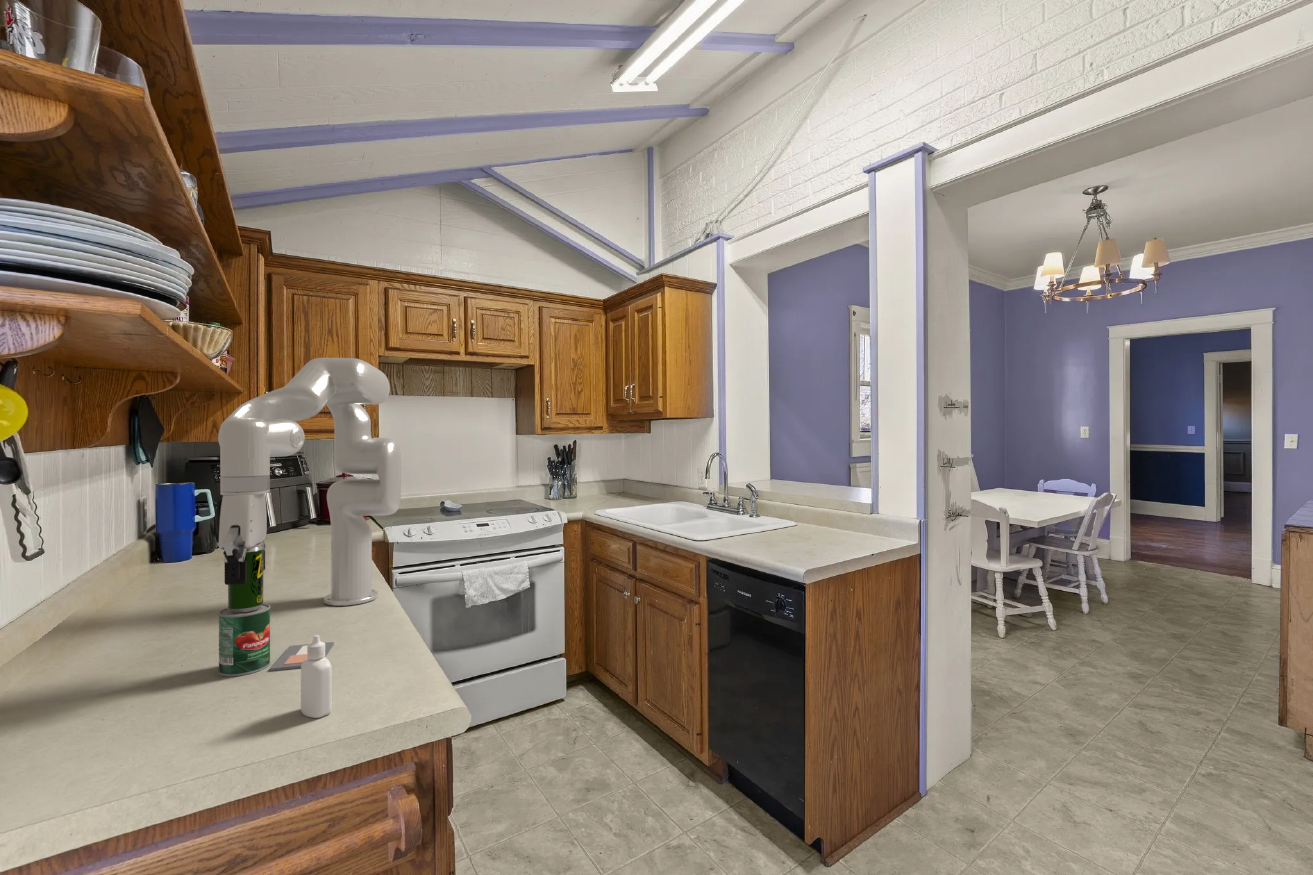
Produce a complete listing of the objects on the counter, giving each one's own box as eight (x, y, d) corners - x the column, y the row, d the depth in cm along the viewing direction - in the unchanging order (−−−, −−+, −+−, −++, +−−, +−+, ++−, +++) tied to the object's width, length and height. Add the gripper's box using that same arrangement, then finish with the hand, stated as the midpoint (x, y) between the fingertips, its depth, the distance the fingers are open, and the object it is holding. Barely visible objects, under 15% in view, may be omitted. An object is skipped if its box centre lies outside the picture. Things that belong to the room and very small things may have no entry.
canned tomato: (234, 660, 112) (234, 603, 112) (278, 659, 113) (278, 602, 113) (208, 677, 104) (208, 616, 104) (255, 675, 105) (255, 615, 105)
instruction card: (289, 648, 119) (289, 645, 119) (334, 644, 121) (334, 641, 121) (270, 671, 107) (270, 667, 107) (319, 666, 110) (319, 663, 110)
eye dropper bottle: (332, 701, 95) (333, 628, 95) (331, 716, 90) (331, 639, 90) (301, 707, 93) (301, 632, 93) (298, 722, 88) (298, 643, 88)
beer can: (227, 614, 105) (227, 548, 105) (228, 607, 109) (229, 543, 109) (263, 610, 108) (263, 545, 108) (263, 603, 112) (263, 540, 112)
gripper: (239, 481, 116) (240, 567, 116) (200, 490, 99) (201, 591, 99) (283, 481, 118) (283, 565, 118) (252, 489, 101) (252, 587, 102)
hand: (245, 577), depth 109 cm, fingers open, 9 cm apart
